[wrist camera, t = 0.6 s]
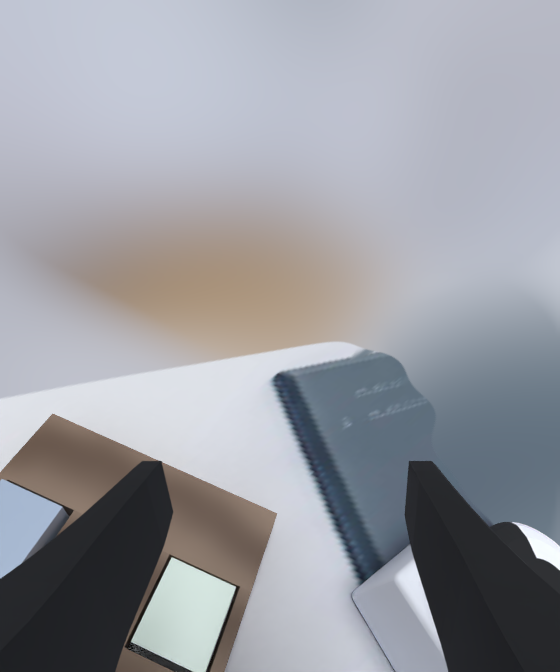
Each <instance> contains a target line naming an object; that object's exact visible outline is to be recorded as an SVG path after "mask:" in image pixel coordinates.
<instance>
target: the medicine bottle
mask: <svg viewBox="0 0 560 672" xmlns="http://www.w3.org/2000/svg"><path fill="white" fill-rule="evenodd" d="M490 528H491V529H492V530H493V531H494V532H495V533H496V534H497V535H498V537H499V538H500V539H501V540H502V541H503V542H504V543H505V544H506V545H507V546H508V547H509V548H510V549H511V550H512V551H513V552H514V553H515V554H516V555H518V556H519V557H520V558H521V559H522V560H523V561H524V562H525V563H526V564H527V565H528V566H529V567H530V568H531V569H532V570H533V571H534V572H535V573H537V574H538V575H539V576H540V577H541V578H542V579H543V580H544V581H545V582H547V583H548V584H549V585H550V586H551V587H552V588H553V589H554V590H556V591H557V592H558V593H559V594H560V546H559V545H557V544H556V543H555V542H554V541H553V540H551V539H550V538H548V537H547V536H546V535H544V534H542V533H541V532H539V531H537V530H536V529H534V528H531V527H529V526H527V525H524V524H520V523H515V522H502V523H498V524H495V525H493V526H491V527H490ZM352 598H353V601H354V602H355V604H356V606H357V607H358V609H359V611H360V612H361V614H362V616H363V618H364V619H365V621H366V623H367V624H368V626H369V628H370V629H371V631H372V633H373V634H374V636H375V638H376V640H377V641H378V643H379V645H380V646H381V648H382V650H383V651H384V653H385V655H386V656H387V658H388V660H389V661H390V663H391V665H392V667H393V668H394V670H395V672H448V669H447V665H446V661H445V657H444V654H443V650H442V647H441V643H440V640H439V637H438V634H437V630H436V627H435V624H434V621H433V618H432V615H431V611H430V608H429V605H428V602H427V599H426V596H425V592H424V589H423V586H422V583H421V580H420V577H419V573H418V570H417V567H416V564H415V560H414V557H413V554H412V549H411V545H408V546H407V547H406V548H405V549H404V550H402V551H401V552H400V553H399V554H398V555H396V556H395V557H394V558H393V559H392V560H390V561H389V562H388V563H387V564H385V565H384V566H383V567H382V568H381V569H379V570H378V571H377V572H376V573H375V574H373V575H372V576H371V577H370V578H369V579H367V580H366V581H365V582H364V583H363V584H361V585H360V586H359V587H358V588H357V589H355V590H354V592H353V593H352Z"/></svg>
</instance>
